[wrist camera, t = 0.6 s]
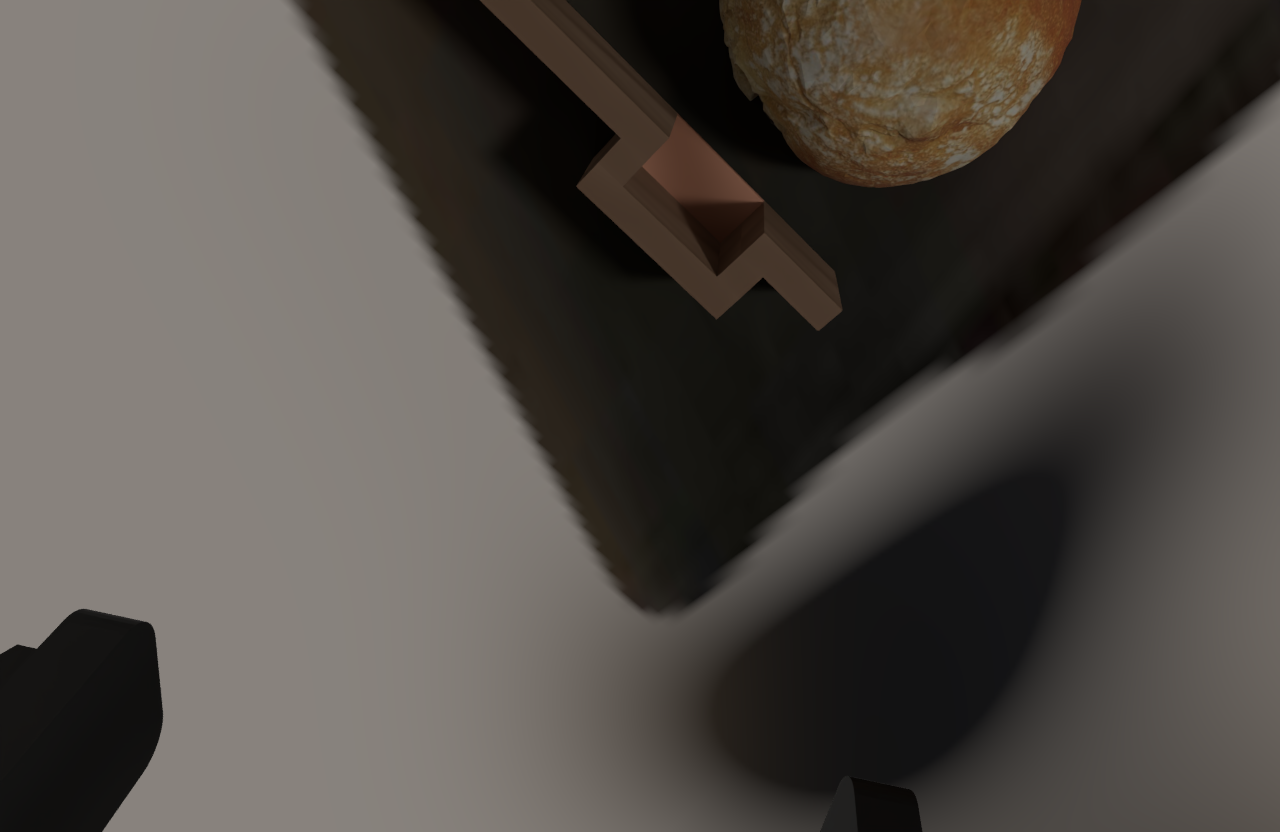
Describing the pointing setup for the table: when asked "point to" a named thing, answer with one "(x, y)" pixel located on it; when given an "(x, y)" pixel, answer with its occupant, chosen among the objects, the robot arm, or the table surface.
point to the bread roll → (894, 77)
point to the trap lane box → (671, 177)
